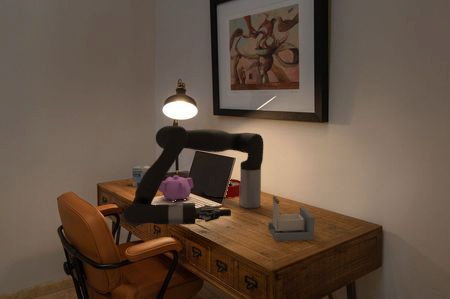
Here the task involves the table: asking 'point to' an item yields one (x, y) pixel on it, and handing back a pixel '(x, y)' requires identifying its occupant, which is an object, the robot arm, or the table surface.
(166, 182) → the pot
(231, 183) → the toy clock
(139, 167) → the light bulb box
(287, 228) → the toy cart
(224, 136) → the robot arm
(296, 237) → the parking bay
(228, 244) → the table surface
